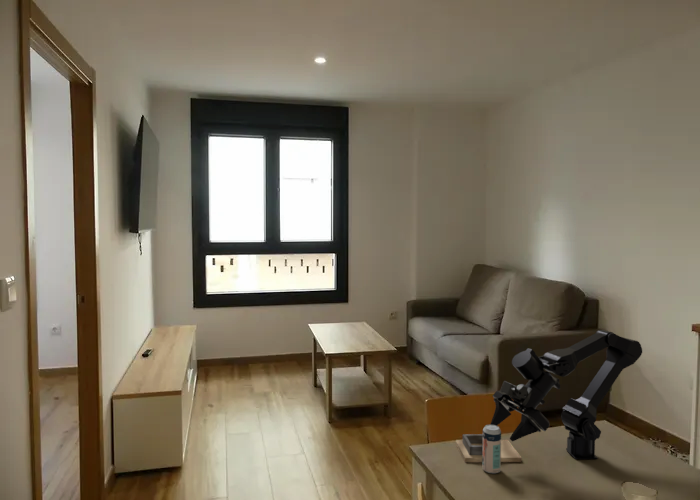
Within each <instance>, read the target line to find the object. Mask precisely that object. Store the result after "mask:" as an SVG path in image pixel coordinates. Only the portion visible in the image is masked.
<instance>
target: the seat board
mask: <svg viewBox="0 0 700 500" xmlns="http://www.w3.org/2000/svg"><path fill="white" fill-rule="evenodd" d="M455 445H456V448H457V449H458V452H459V453H460V455H461V458H462V459H463V461H464V462H465V463H482V460H483V433H479V434H478V433H477V434H475V433H471V434H470V433H468V434H465V433H464V434H462V439H456V440H455ZM521 462H522V456H521V455H520V453H519V452H518V450H516V448H515V447H514V446H513V445H512V443H511V442H510V441H509V439H501V463H521Z"/></svg>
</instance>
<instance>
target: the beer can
mask: <svg viewBox="0 0 700 500" xmlns="http://www.w3.org/2000/svg"><path fill="white" fill-rule="evenodd" d="M482 434H483V460H482V462H481V463H482V465H481V466H482V467H481V468H482V470H483V471H484V472H486V473H488V474H492V475H495V474H498V473H500V472H501V470H502V467H501V466H502V465H501V464H502V462H501V440H502V430H501V428H500V426H498V425H497V426H496V425H490V424H486V425H484V427H483V429H482Z"/></svg>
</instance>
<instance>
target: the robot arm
mask: <svg viewBox="0 0 700 500" xmlns="http://www.w3.org/2000/svg"><path fill="white" fill-rule="evenodd" d="M642 347H643V346H642V344H641V343H640V341H638V340H636V339H635V340H634V339H630V338H626V337H622V336H620V335H619V334H616V333H614V332H613V331H610V330H605V329H599V330H597V331H596V332H595V333H593V334H591V335H590V336H588V337H586V338H584V339H581V340H580V341H577V342H576V343H575V344H572V345H571V346H569V347H565V348H557V349H553V350H550V351H547V352H545V353H544V354H543V355H540V356H538V355H537V354H536V352H535V351H534V350H533V349H532V348H530V347H529V348H528V347H527V348H526V350H523V351H521V352H519V353H517V354H515V355H514V356H513V358H512V359H511V365H512V366H513V367H514V368H515V369H516V370H517V371H518V373H519V374H521V376H522V377H523V378H524V379H525V380H527V381H528V382H526V384H524V383H520V384H518V385H515V384H513V383H510V382H508V381H506V380H504V381H503V382H502V385H501V387H500V389H499V390H496V391H495V392H494V394H493V395H492V397H493V402H494V403H495V410H494V412H493V416H492V418H491V422H490V424H489V425H496V426H498V425H500V424H501V423H502V422H504V421H505V420H506V419H507V418H509V417H510V416H511V415H512V413H511V412H513V411H516V412H518V413H520V414H521V417H520V422H519V423H518V425H517V426H516V428H515V429H514V431H513V432H512V434H511V436H510V437H509V440H510V441H511V442H515V441H517V440H520V439H521V438H524V437H526V436H529V435H532V434H535V433H538V432H539V433H541V432H542V431H543V432H547V430H548V428H550V420H549V419H548V418H547V417H546V416H545V415H544V414H543V413H542V412H541V411H540V410H538V409H537V407H538V406H539V405H543V406H544V404H545V403H546V402H545V400H544V398H545V397H546V396H547V395H548V393H549V392H550V391H551V389H552V388H556V389H557V390H561V384H560V379H559V378H557V377H555V376H553V375H552V374H554V375H557V376H559V377H562V378H563V377H566V376H567V377H568V375H569V374H571V373H572V372H574V371H575V369H576V368H577V366H578V364H579V363H581V362H582V361H584V360H586V359H588V358H589V357H592V356H593V355H595V354H597V353H598V352H602V350H604V349H606V359H605V361H604V362H603V364H602V366H600V369H598V371H597V373H596V375H595V376H594V377H593V378H592V380H591V381H590V383H589V384H588V386H587V387H586V389H585V390H584V391H583V393H582V395H581V396H580V397H579V398H577V399H574V398H572V397H570V398H569V399H568V400H567V402H566V404H565V406H563V407H562V412H561V415H560V417H561V423H563V426H564V429H565V430H566V431H568V437H567V440H566V442H567V443H566V448H565V450H566V452H568V454H570V455H571V456H572V458H574V460H598V456H597V455H596V454H595V452H596V440H597V439H598V440H599V439H600V438H601V434H602V430H601V429H600V428H599V427H598V426H597V425H596V424H595V423H596V420H597V409H598V407H599V406H600V404H601V403H602V401H603V400H604V398H605V397H606V395H607V393H608V392H609V391H610V389H611V388H612V386H613V385H614V383H615V382H616V381H617V379H618V377H619V376H620V374H621V373H622V371H623V370H624V369H626V368H628V367H630V366H633V365H634V364H635V363H636V362H637V361H638V360H639V359H640V358H641V356H642V354H643V348H642Z"/></svg>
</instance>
